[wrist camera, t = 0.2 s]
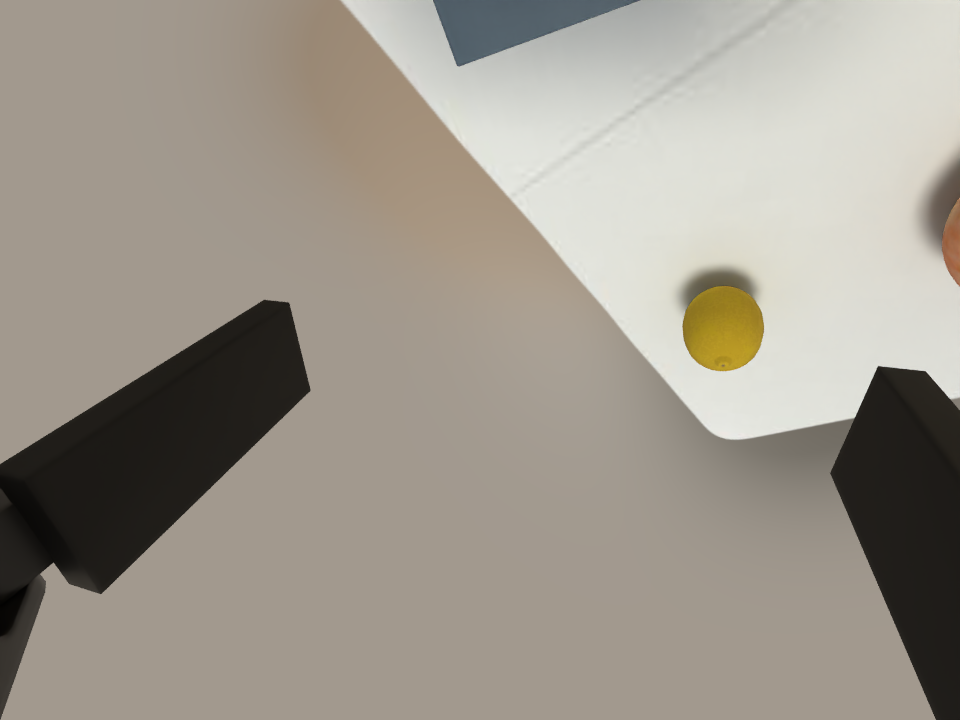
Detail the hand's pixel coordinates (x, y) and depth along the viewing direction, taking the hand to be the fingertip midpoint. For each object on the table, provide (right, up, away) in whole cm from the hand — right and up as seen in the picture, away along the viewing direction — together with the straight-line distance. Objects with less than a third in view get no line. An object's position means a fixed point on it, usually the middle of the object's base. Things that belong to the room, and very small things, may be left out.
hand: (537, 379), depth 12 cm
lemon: (+18, +6, +29) cm, 35 cm away
